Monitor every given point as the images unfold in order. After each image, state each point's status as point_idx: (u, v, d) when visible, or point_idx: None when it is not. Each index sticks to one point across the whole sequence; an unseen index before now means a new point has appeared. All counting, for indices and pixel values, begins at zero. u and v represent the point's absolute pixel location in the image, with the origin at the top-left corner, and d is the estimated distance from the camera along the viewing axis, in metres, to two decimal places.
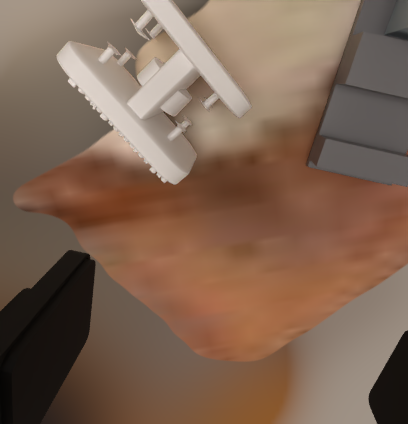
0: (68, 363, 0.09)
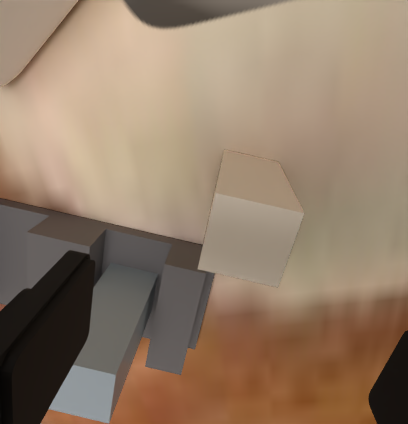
0: (68, 363, 0.09)
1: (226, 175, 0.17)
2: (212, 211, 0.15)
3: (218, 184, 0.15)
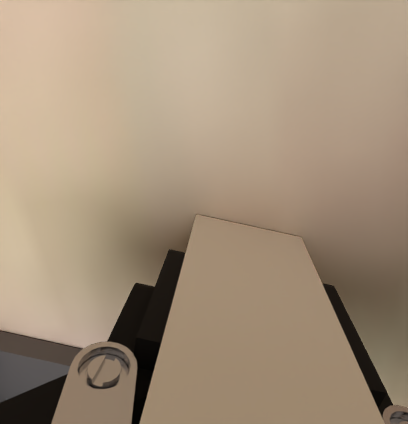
0: None
1: (178, 362, 0.06)
2: None
3: None
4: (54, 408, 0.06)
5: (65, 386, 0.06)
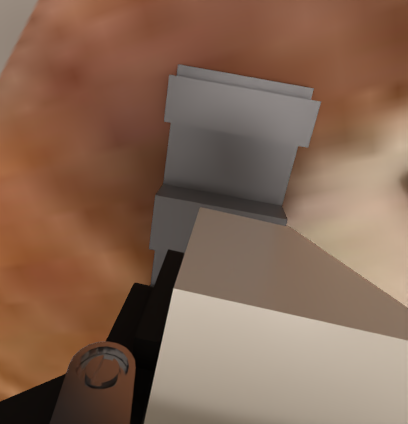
0: None
1: (206, 241, 0.07)
2: (164, 352, 0.04)
3: (186, 261, 0.05)
4: (52, 408, 0.06)
5: (63, 386, 0.06)
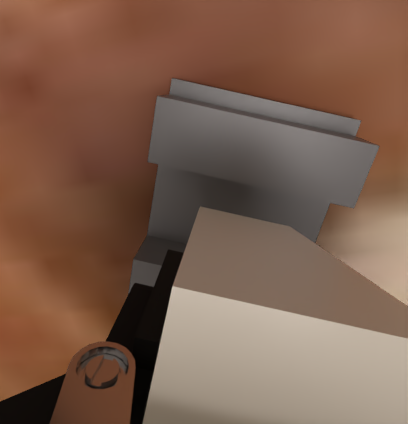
0: None
1: (206, 240, 0.07)
2: (163, 350, 0.04)
3: (185, 259, 0.05)
4: (52, 408, 0.06)
5: (63, 386, 0.06)
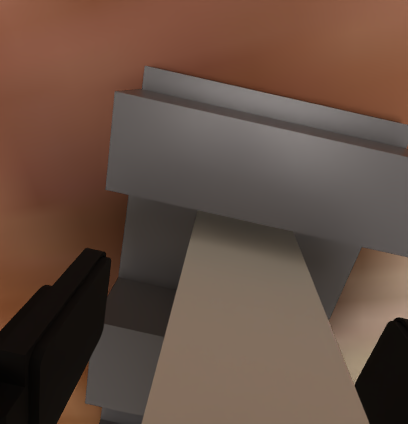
0: (85, 358, 0.09)
1: (186, 322, 0.07)
2: None
3: (152, 395, 0.06)
4: None
5: None
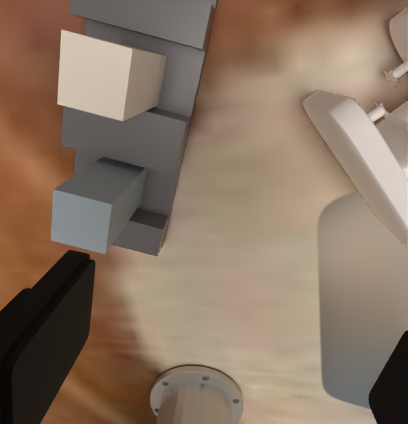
0: (68, 363, 0.09)
1: None
2: (61, 47, 0.18)
3: (73, 32, 0.19)
4: None
5: None
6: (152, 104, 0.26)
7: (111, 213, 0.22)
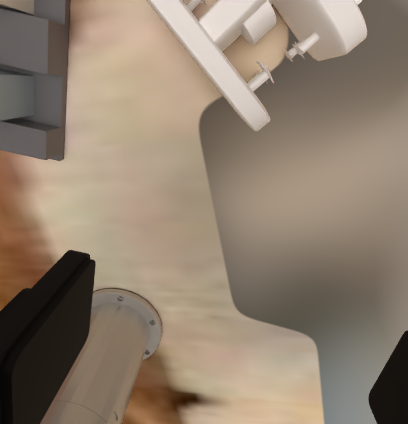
0: (68, 363, 0.09)
1: None
2: None
3: None
4: None
5: None
6: (19, 6, 0.29)
7: None
